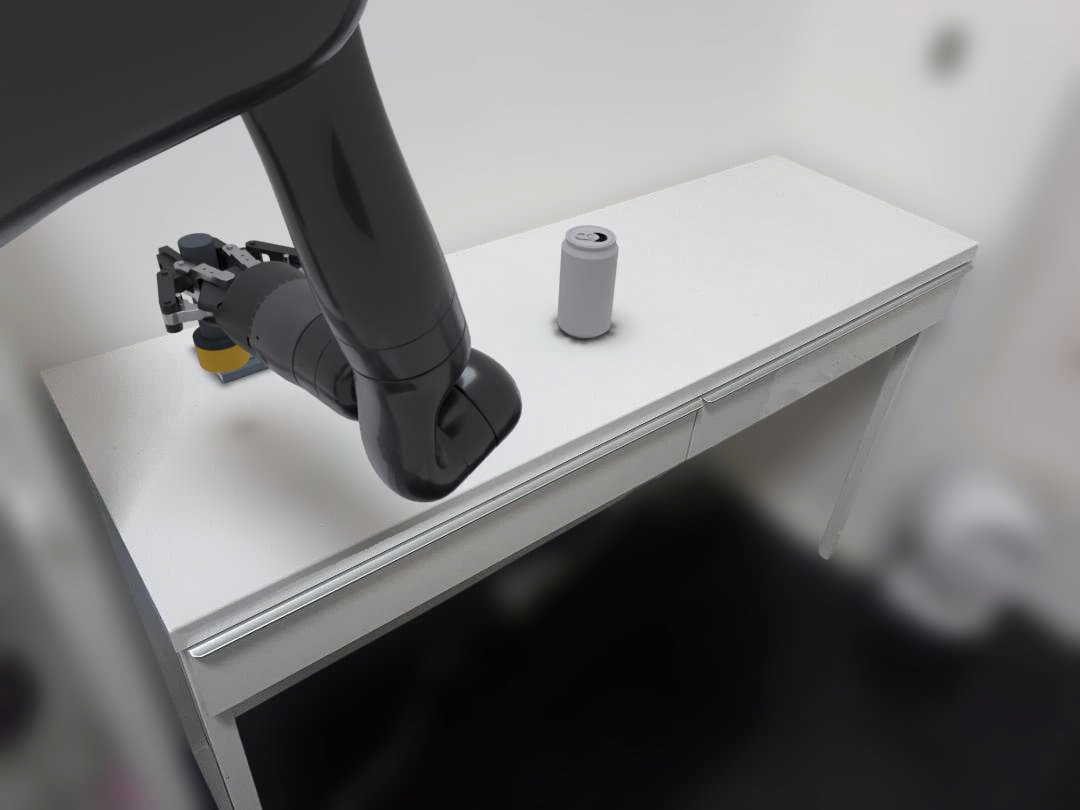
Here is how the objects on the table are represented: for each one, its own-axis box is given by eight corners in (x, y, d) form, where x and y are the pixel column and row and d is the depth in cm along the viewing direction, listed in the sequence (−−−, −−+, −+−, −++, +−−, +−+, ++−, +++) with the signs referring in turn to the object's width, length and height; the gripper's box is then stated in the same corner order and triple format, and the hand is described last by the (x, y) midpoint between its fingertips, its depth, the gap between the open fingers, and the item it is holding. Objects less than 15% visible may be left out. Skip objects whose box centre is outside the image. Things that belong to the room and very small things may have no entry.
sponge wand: (195, 374, 72) (161, 252, 65) (204, 348, 76) (172, 229, 69) (246, 371, 73) (218, 250, 66) (252, 345, 76) (226, 227, 69)
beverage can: (611, 343, 94) (622, 249, 87) (556, 340, 94) (562, 246, 86) (608, 314, 99) (618, 223, 92) (556, 312, 99) (561, 221, 91)
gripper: (367, 253, 63) (246, 188, 72) (201, 318, 55) (87, 235, 63) (375, 334, 68) (261, 263, 76) (223, 405, 59) (114, 316, 68)
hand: (183, 251), depth 70 cm, fingers closed on sponge wand, 2 cm apart
